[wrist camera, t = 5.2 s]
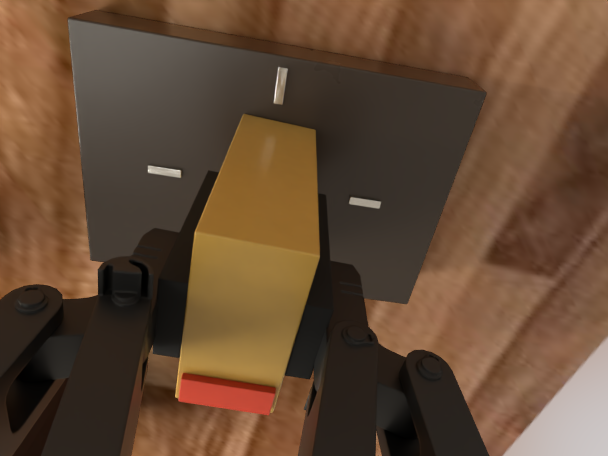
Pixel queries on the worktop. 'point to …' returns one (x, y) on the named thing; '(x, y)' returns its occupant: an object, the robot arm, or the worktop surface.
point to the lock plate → (275, 106)
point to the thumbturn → (251, 269)
